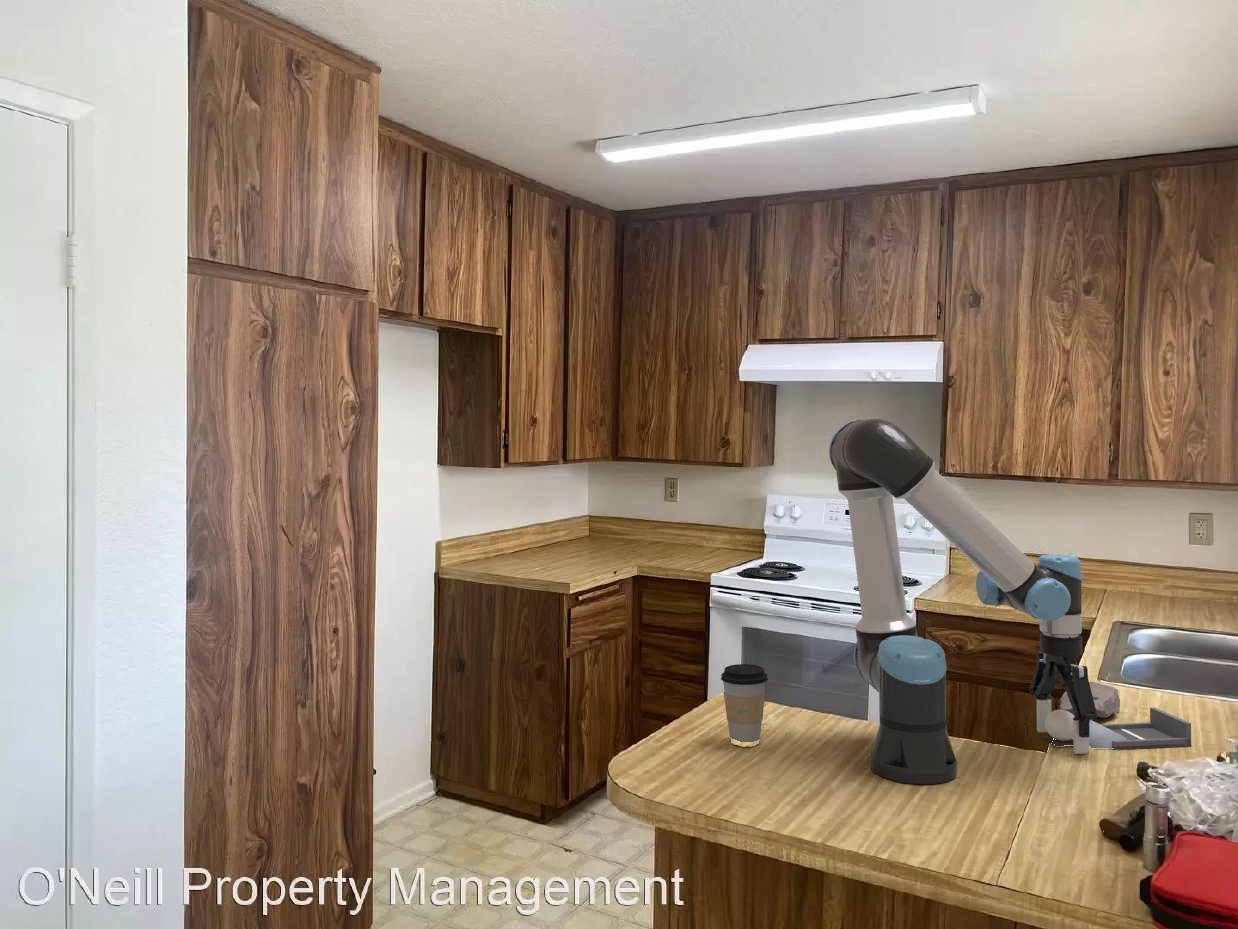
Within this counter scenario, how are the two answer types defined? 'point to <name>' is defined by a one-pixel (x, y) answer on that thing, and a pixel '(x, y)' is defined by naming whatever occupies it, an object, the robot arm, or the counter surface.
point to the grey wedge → (1102, 736)
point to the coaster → (1057, 742)
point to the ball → (1060, 725)
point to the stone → (1098, 700)
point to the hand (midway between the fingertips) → (1062, 742)
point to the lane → (1153, 732)
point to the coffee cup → (744, 700)
